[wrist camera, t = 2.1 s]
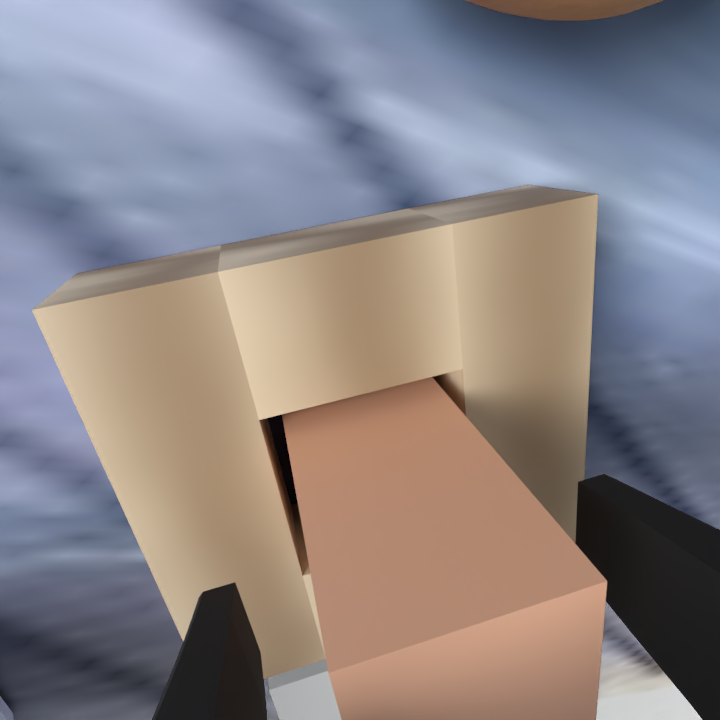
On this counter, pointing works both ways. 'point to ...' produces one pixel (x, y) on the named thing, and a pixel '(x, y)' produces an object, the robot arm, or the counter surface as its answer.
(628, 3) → the onion
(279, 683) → the mat
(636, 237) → the counter surface
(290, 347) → the pocket block
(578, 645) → the peg
